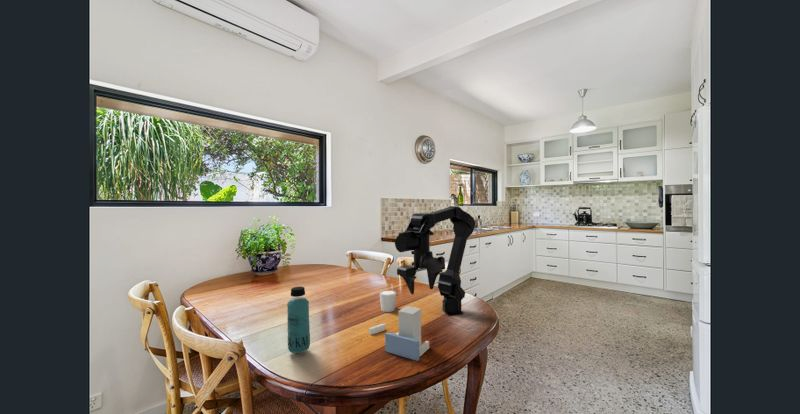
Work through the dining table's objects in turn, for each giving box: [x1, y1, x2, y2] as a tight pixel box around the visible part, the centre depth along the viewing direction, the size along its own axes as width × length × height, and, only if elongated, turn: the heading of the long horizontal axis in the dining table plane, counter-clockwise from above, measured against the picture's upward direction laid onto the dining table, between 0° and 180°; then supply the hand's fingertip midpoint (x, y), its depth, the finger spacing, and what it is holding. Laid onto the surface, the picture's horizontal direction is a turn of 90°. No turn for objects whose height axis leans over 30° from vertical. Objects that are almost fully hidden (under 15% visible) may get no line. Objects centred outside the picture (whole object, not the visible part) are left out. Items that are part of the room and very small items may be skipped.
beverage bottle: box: [286, 286, 311, 354], centre depth 97 cm, size 6×7×20 cm
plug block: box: [397, 305, 422, 347], centre depth 99 cm, size 5×5×12 cm
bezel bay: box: [384, 332, 430, 362], centre depth 98 cm, size 8×11×6 cm
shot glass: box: [379, 289, 397, 313], centre depth 132 cm, size 7×7×7 cm
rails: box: [368, 323, 399, 336], centre depth 108 cm, size 6×10×2 cm, turn 39°
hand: (422, 291), depth 117 cm, fingers open, 9 cm apart
